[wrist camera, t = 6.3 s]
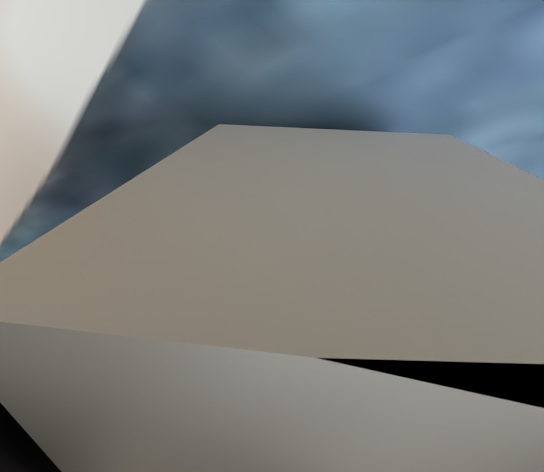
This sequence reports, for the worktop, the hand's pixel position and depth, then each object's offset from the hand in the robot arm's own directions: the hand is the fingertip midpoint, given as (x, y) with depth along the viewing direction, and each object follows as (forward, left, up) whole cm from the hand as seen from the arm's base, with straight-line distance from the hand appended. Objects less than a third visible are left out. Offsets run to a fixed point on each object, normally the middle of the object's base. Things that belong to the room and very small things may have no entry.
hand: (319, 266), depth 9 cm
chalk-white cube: (0, 0, -2) cm, 2 cm away
